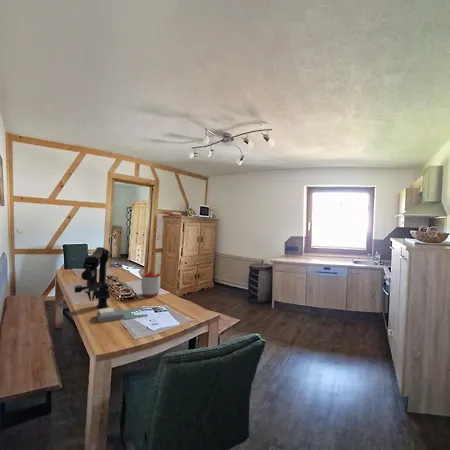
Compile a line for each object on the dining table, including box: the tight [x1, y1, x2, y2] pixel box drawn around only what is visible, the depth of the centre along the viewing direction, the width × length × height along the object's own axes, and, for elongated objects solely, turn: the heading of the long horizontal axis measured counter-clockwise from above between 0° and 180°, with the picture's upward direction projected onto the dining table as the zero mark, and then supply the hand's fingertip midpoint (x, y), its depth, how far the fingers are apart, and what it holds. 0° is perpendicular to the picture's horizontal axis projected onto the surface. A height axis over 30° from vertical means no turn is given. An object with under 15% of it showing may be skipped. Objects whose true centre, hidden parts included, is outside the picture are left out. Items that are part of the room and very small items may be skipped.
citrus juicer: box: [140, 271, 162, 298], centre depth 228 cm, size 16×17×20 cm
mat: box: [121, 307, 148, 320], centre depth 185 cm, size 16×14×1 cm
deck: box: [96, 308, 124, 324], centre depth 177 cm, size 12×14×3 cm
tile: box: [98, 307, 115, 316], centre depth 175 cm, size 7×8×2 cm
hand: (91, 301), depth 170 cm, fingers closed
